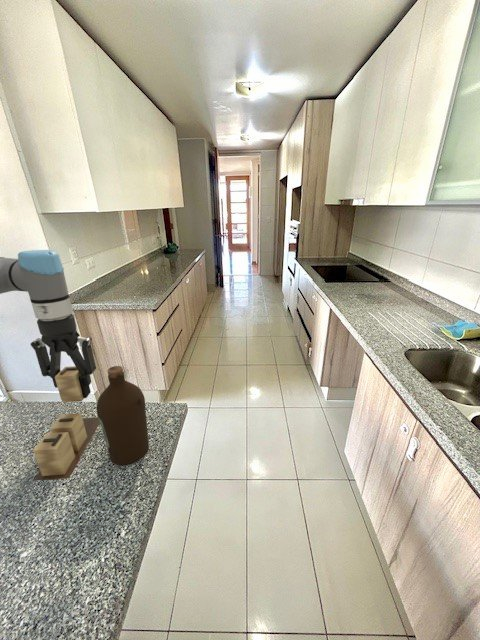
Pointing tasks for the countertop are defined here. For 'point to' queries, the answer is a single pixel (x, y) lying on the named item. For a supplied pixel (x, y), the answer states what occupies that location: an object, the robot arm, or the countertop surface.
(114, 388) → the olive oil
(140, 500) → the countertop surface
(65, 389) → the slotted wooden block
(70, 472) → the word board
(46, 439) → the letter T
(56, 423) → the letter I
